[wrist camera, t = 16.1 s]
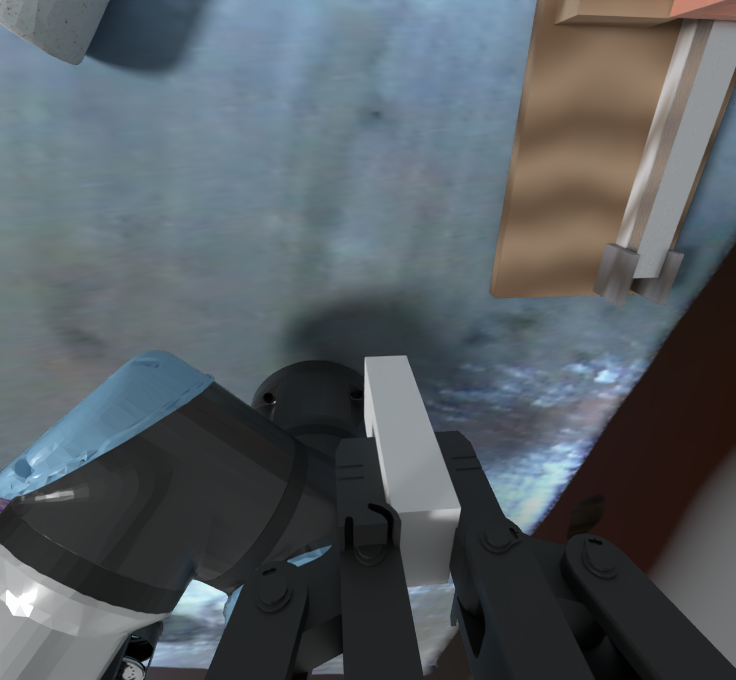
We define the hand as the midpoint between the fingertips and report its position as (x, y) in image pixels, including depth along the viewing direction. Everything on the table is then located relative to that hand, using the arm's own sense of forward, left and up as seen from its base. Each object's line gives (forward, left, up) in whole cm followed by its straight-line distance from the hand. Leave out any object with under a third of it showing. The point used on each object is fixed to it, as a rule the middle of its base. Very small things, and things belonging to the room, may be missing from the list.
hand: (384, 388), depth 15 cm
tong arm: (+8, -28, -23) cm, 37 cm away
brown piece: (+8, -24, -26) cm, 37 cm away
